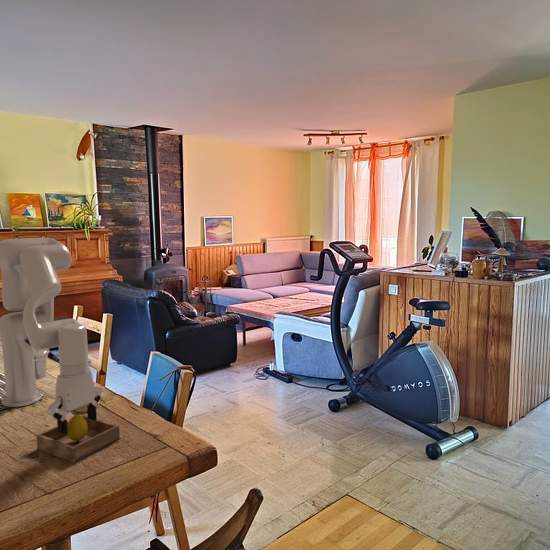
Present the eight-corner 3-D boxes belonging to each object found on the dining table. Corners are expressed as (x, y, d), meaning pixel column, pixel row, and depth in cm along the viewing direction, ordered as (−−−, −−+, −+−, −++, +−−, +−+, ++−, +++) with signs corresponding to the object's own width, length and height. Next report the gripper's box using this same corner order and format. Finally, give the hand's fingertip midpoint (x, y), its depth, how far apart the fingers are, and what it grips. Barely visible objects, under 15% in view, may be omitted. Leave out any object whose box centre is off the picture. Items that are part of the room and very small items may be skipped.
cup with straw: (28, 374, 197) (24, 327, 194) (52, 371, 200) (49, 324, 198) (27, 381, 189) (23, 331, 186) (52, 377, 193) (49, 329, 190)
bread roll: (78, 415, 157) (78, 403, 157) (69, 407, 164) (69, 396, 163) (103, 408, 163) (103, 397, 162) (94, 400, 169) (93, 390, 169)
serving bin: (37, 448, 135) (36, 435, 134) (84, 427, 148) (83, 414, 148) (73, 462, 127) (72, 448, 126) (119, 438, 140) (118, 425, 140)
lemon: (70, 448, 133) (69, 420, 133) (65, 441, 138) (63, 414, 137) (90, 442, 137) (89, 415, 136) (84, 435, 141) (83, 409, 140)
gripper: (91, 357, 144) (94, 412, 146) (37, 375, 129) (42, 435, 131) (108, 361, 140) (111, 417, 142) (55, 379, 125) (59, 441, 128)
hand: (78, 425), depth 137 cm, fingers open, 9 cm apart
